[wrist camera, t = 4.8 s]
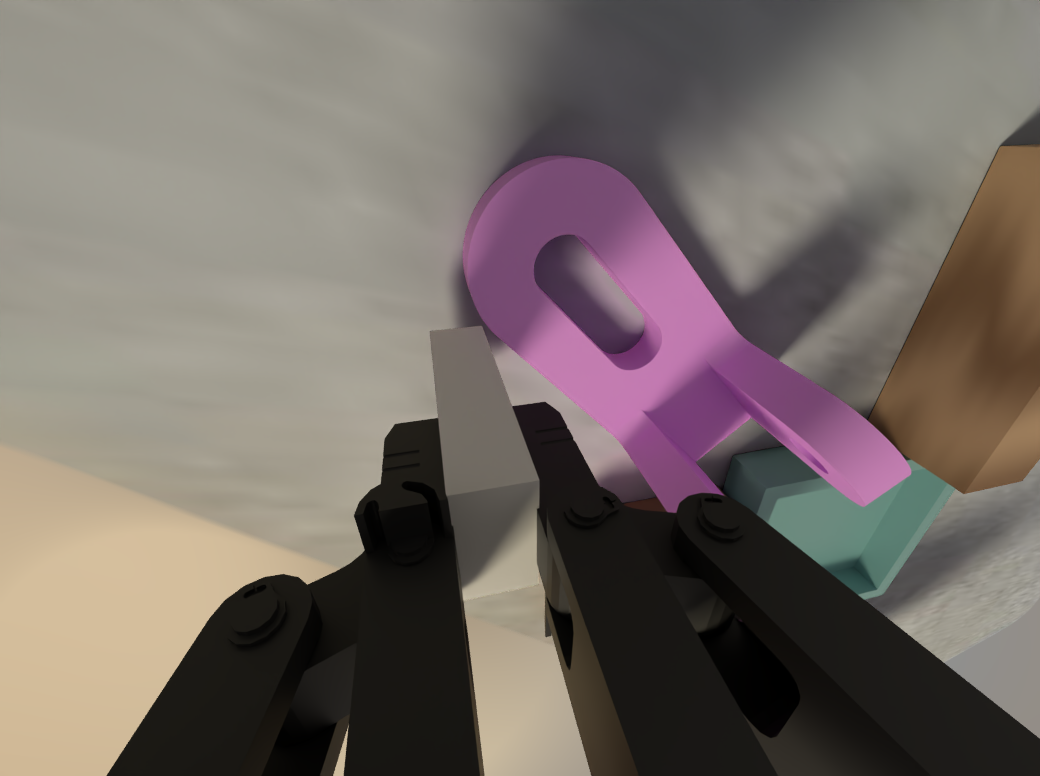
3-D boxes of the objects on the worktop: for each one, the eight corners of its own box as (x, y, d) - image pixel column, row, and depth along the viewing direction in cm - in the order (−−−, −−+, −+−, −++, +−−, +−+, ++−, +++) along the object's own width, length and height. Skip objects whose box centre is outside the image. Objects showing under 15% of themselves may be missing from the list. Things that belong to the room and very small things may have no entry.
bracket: (756, 376, 18) (924, 496, 12) (653, 461, 19) (759, 606, 13) (560, 105, 11) (718, 80, 6) (423, 261, 13) (434, 373, 7)
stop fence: (1000, 145, 15) (1205, 151, 11) (1067, 142, 15) (1284, 146, 11) (863, 428, 21) (963, 494, 17) (914, 419, 21) (1022, 480, 18)
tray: (733, 455, 20) (766, 488, 18) (936, 418, 22) (985, 444, 20) (688, 603, 26) (710, 640, 24) (851, 564, 28) (882, 594, 26)
